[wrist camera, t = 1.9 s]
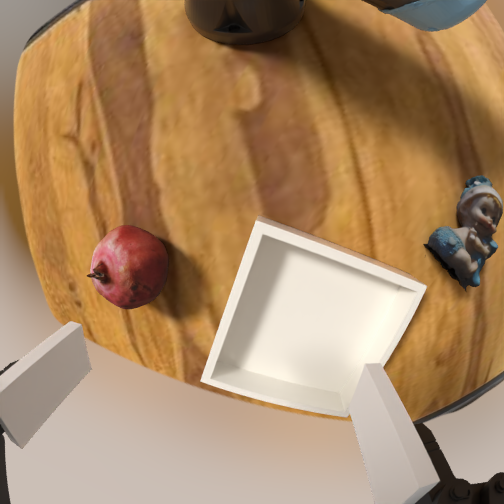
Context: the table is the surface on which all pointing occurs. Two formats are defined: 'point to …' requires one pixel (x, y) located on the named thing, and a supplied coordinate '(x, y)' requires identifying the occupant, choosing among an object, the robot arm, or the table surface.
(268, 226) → the dish
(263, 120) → the table surface
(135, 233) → the fruit
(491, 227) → the figurine
